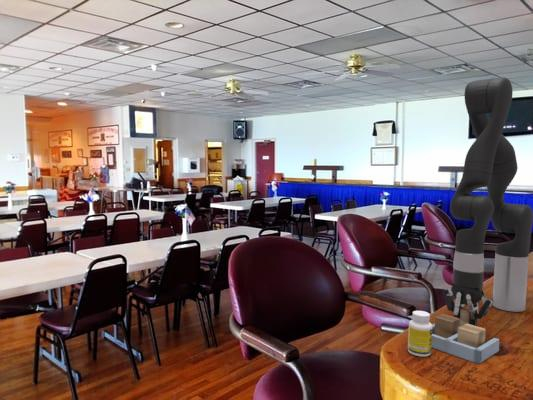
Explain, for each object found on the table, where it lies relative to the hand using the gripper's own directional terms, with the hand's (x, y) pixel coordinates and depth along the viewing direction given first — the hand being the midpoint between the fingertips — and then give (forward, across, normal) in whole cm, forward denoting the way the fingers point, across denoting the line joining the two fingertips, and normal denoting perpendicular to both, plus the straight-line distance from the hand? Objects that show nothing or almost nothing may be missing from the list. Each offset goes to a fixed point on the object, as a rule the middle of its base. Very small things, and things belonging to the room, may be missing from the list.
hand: (465, 329), depth 120 cm
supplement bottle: (+1, +1, +23) cm, 23 cm away
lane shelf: (0, -4, +12) cm, 12 cm away
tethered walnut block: (0, 0, +6) cm, 6 cm away
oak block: (0, -7, +13) cm, 15 cm away
